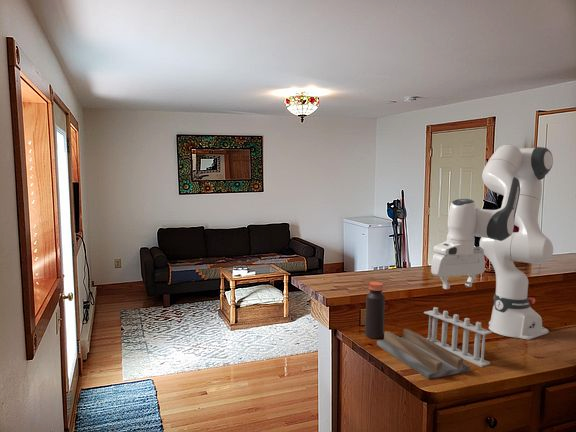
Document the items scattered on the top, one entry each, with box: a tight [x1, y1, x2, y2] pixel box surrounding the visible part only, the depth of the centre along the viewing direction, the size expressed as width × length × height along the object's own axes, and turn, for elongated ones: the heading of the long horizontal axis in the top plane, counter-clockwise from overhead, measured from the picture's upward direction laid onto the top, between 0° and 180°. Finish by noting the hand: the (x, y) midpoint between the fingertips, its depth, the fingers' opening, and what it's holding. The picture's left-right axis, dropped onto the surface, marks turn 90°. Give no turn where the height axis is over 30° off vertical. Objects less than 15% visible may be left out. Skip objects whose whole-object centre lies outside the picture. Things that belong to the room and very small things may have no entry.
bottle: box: [364, 281, 386, 340], centre depth 171 cm, size 7×7×20 cm
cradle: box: [376, 328, 471, 380], centre depth 153 cm, size 16×28×4 cm, turn 22°
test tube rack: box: [423, 306, 493, 368], centre depth 158 cm, size 25×4×13 cm, turn 31°
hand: (457, 287), depth 156 cm, fingers open, 8 cm apart
